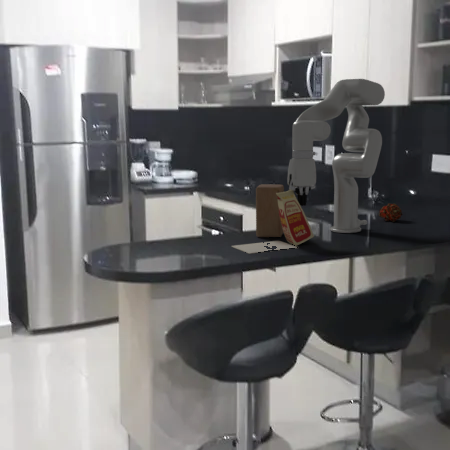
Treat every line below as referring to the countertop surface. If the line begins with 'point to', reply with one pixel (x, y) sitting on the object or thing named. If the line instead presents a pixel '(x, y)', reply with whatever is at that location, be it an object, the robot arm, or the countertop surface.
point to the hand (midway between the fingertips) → (302, 205)
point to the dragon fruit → (390, 212)
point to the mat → (262, 246)
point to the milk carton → (293, 219)
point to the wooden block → (268, 210)
